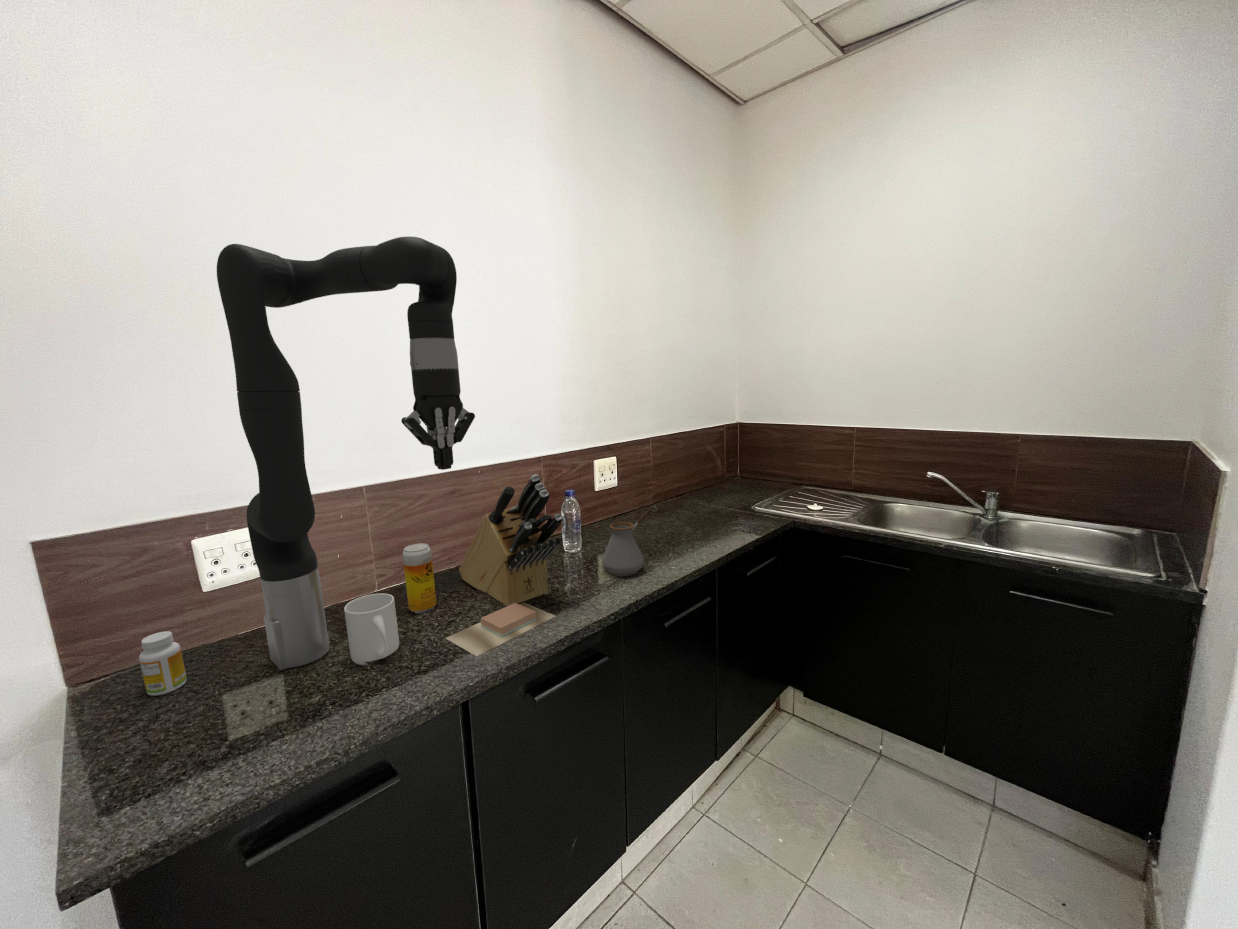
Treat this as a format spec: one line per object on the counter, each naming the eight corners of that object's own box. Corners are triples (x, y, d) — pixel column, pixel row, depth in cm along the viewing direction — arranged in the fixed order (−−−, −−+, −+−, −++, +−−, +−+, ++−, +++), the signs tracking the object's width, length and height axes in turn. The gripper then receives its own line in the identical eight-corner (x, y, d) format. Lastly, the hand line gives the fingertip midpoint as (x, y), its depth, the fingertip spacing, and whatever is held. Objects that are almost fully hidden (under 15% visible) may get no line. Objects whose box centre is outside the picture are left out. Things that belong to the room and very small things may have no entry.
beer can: (427, 615, 113) (420, 552, 110) (403, 613, 114) (396, 551, 111) (441, 603, 118) (435, 543, 116) (419, 602, 120) (412, 542, 117)
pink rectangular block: (500, 628, 99) (535, 611, 106) (480, 618, 104) (515, 602, 111) (501, 637, 100) (536, 620, 106) (481, 627, 104) (515, 611, 111)
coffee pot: (627, 582, 127) (625, 526, 124) (593, 573, 134) (590, 519, 131) (672, 557, 143) (671, 507, 141) (639, 550, 150) (638, 502, 148)
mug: (363, 680, 89) (355, 624, 87) (346, 654, 97) (339, 603, 96) (412, 661, 94) (406, 608, 92) (391, 638, 103) (386, 589, 101)
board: (477, 661, 93) (476, 656, 93) (445, 642, 100) (445, 638, 100) (556, 620, 108) (556, 616, 108) (524, 606, 115) (523, 602, 115)
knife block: (529, 626, 106) (519, 484, 101) (458, 580, 132) (447, 465, 127) (572, 608, 114) (565, 475, 108) (496, 568, 140) (488, 459, 134)
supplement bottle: (183, 674, 92) (173, 626, 91) (190, 685, 89) (180, 634, 87) (144, 689, 88) (133, 638, 87) (149, 700, 85) (138, 648, 83)
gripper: (407, 366, 76) (419, 477, 79) (481, 366, 86) (489, 464, 89) (385, 368, 81) (397, 473, 84) (457, 367, 91) (466, 461, 94)
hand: (444, 468), depth 86 cm, fingers closed
